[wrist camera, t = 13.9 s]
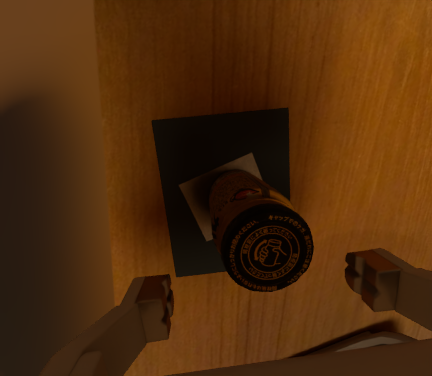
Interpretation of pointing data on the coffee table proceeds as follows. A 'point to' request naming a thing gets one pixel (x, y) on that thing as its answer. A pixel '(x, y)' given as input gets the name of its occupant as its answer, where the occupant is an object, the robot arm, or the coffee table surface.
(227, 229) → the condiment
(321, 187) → the coffee table surface
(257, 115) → the mat
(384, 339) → the alarm clock
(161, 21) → the coffee table surface
